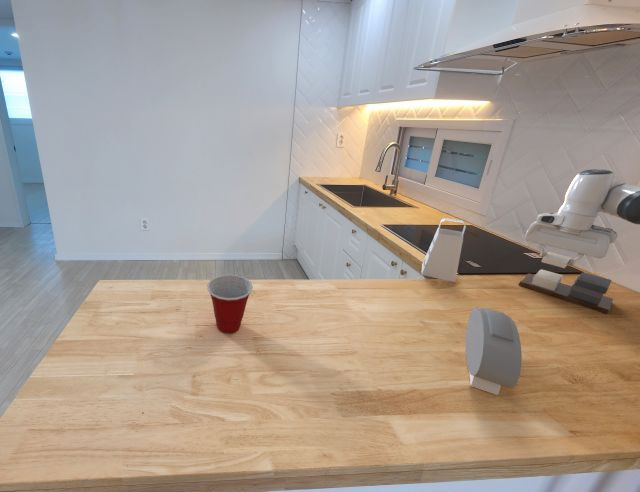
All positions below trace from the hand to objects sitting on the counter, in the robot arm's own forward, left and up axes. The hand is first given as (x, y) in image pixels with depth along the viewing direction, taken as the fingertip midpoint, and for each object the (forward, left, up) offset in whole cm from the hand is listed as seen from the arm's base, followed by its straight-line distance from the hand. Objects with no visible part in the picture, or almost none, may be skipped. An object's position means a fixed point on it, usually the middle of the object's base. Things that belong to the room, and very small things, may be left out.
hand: (555, 260), depth 112 cm
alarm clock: (+32, +59, -10) cm, 68 cm away
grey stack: (-9, +5, -9) cm, 13 cm away
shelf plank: (-4, +2, -10) cm, 11 cm away
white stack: (0, 0, -9) cm, 9 cm away
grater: (+34, +5, -10) cm, 35 cm away
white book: (0, 0, 0) cm, 0 cm away
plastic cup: (+89, +70, -10) cm, 114 cm away
